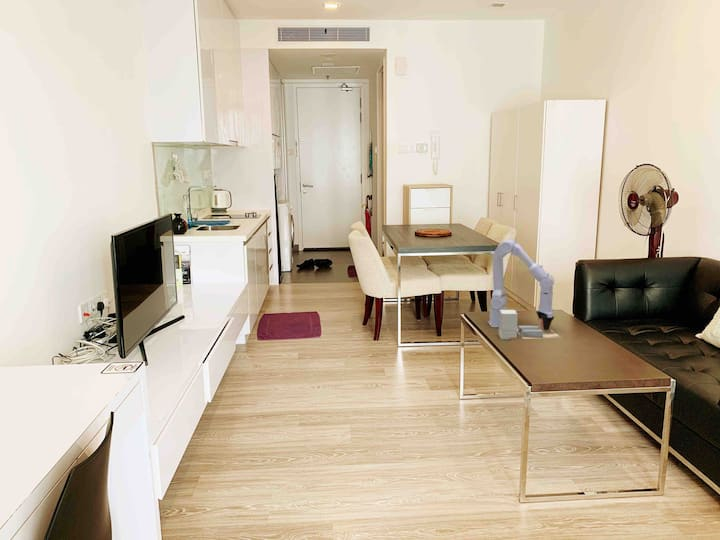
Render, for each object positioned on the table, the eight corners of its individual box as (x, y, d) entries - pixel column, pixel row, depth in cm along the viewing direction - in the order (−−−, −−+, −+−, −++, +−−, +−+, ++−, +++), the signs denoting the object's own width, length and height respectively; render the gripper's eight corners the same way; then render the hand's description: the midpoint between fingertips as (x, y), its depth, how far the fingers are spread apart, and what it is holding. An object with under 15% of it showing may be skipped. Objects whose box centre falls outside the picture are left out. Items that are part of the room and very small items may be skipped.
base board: (512, 328, 274) (513, 321, 273) (549, 328, 274) (549, 321, 273) (523, 340, 256) (523, 332, 256) (561, 340, 256) (562, 332, 256)
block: (537, 328, 272) (537, 318, 271) (547, 328, 272) (548, 318, 271) (540, 331, 267) (541, 321, 266) (550, 331, 267) (551, 321, 266)
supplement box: (513, 335, 265) (515, 309, 262) (516, 340, 257) (518, 313, 255) (498, 334, 265) (499, 309, 263) (500, 339, 258) (501, 313, 256)
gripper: (559, 304, 259) (557, 332, 262) (549, 297, 274) (547, 323, 276) (544, 304, 260) (542, 332, 262) (534, 297, 274) (533, 323, 276)
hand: (544, 327), depth 269 cm, fingers open, 5 cm apart
